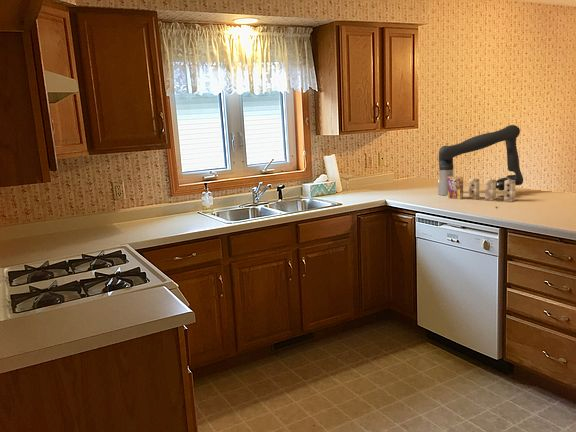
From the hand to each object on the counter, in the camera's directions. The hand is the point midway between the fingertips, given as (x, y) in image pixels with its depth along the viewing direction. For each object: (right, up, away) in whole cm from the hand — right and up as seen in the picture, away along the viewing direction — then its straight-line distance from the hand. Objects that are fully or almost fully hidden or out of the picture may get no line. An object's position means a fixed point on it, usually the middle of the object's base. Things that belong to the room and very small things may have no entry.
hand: (492, 187), depth 302 cm
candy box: (-18, -8, +13) cm, 24 cm away
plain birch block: (-1, -7, 0) cm, 7 cm away
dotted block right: (+8, -8, -7) cm, 13 cm away
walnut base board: (0, -9, +1) cm, 9 cm away
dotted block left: (-8, -6, +9) cm, 13 cm away
